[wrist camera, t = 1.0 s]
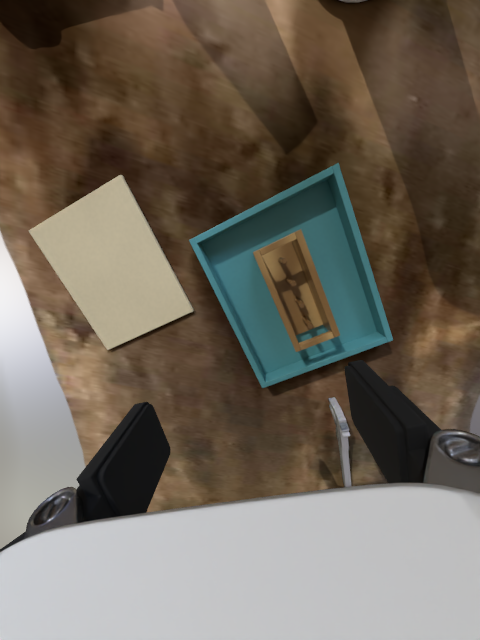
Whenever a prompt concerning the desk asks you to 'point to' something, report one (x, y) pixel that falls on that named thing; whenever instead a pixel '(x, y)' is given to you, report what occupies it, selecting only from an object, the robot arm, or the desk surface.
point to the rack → (296, 289)
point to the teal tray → (331, 265)
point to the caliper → (341, 439)
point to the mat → (112, 264)
